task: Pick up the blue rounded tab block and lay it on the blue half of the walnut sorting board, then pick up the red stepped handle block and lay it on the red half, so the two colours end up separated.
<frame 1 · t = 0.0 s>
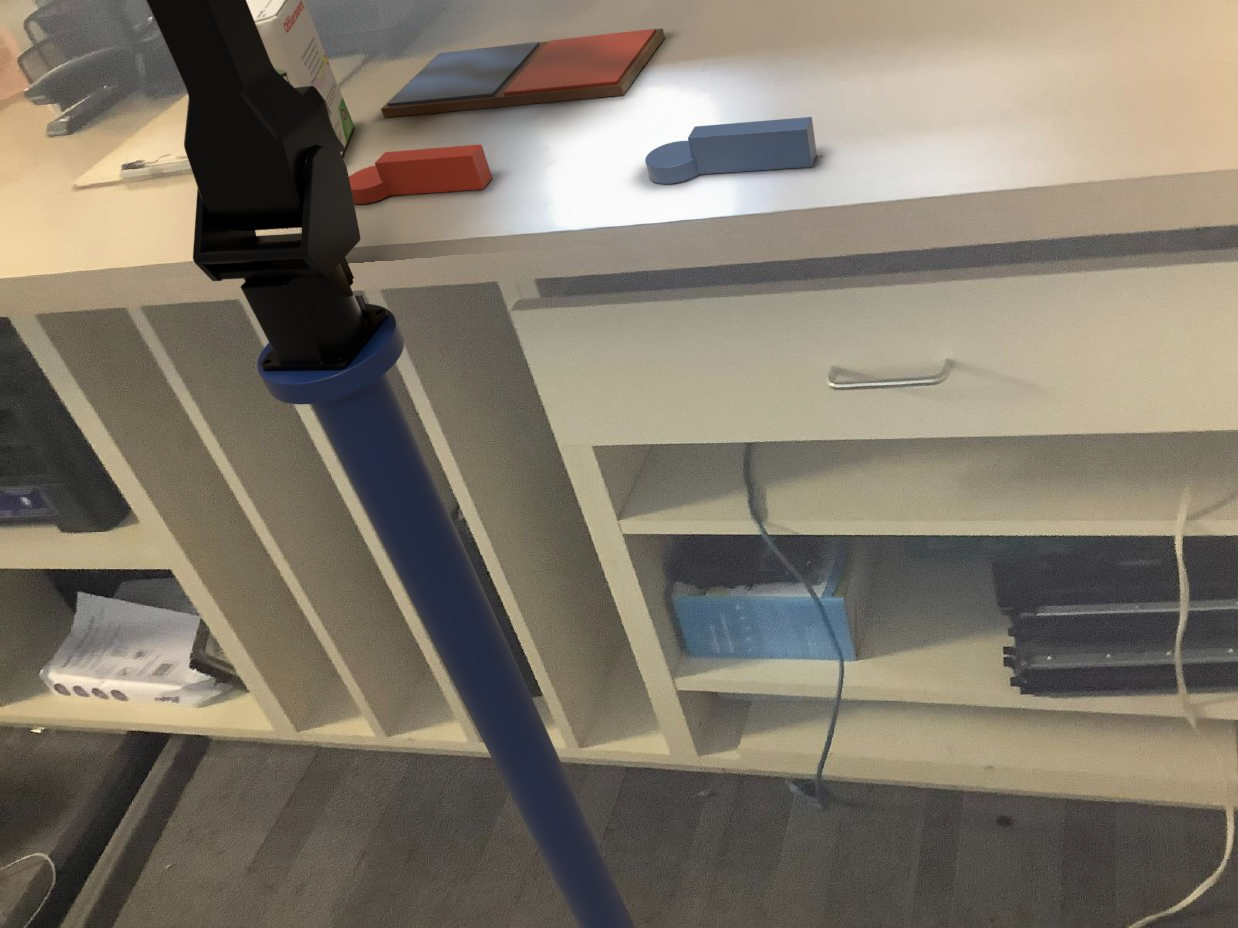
ink box: (321, 154, 94), on the countertop
sorting board: (525, 77, 98), on the countertop
blue rounded tab block: (755, 164, 76), on the countertop
red stepped handle block: (439, 186, 84), on the countertop
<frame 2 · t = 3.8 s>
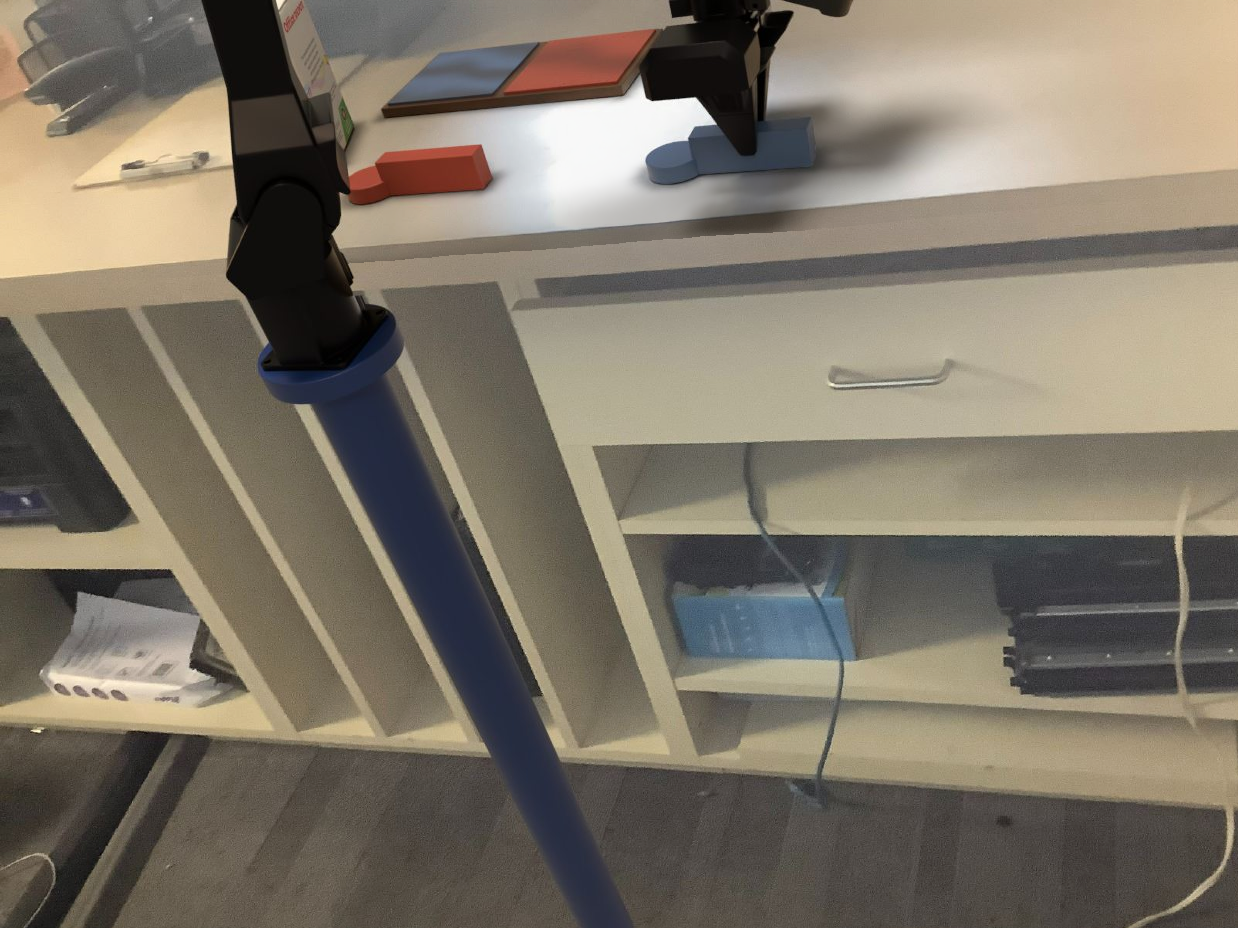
hand: (752, 147, 75), 1 cm above the countertop, tool pointing down, fingers closed on blue rounded tab block, 2 cm apart
blue rounded tab block: (755, 164, 76), on the countertop, touching gripper
everything else where it was.
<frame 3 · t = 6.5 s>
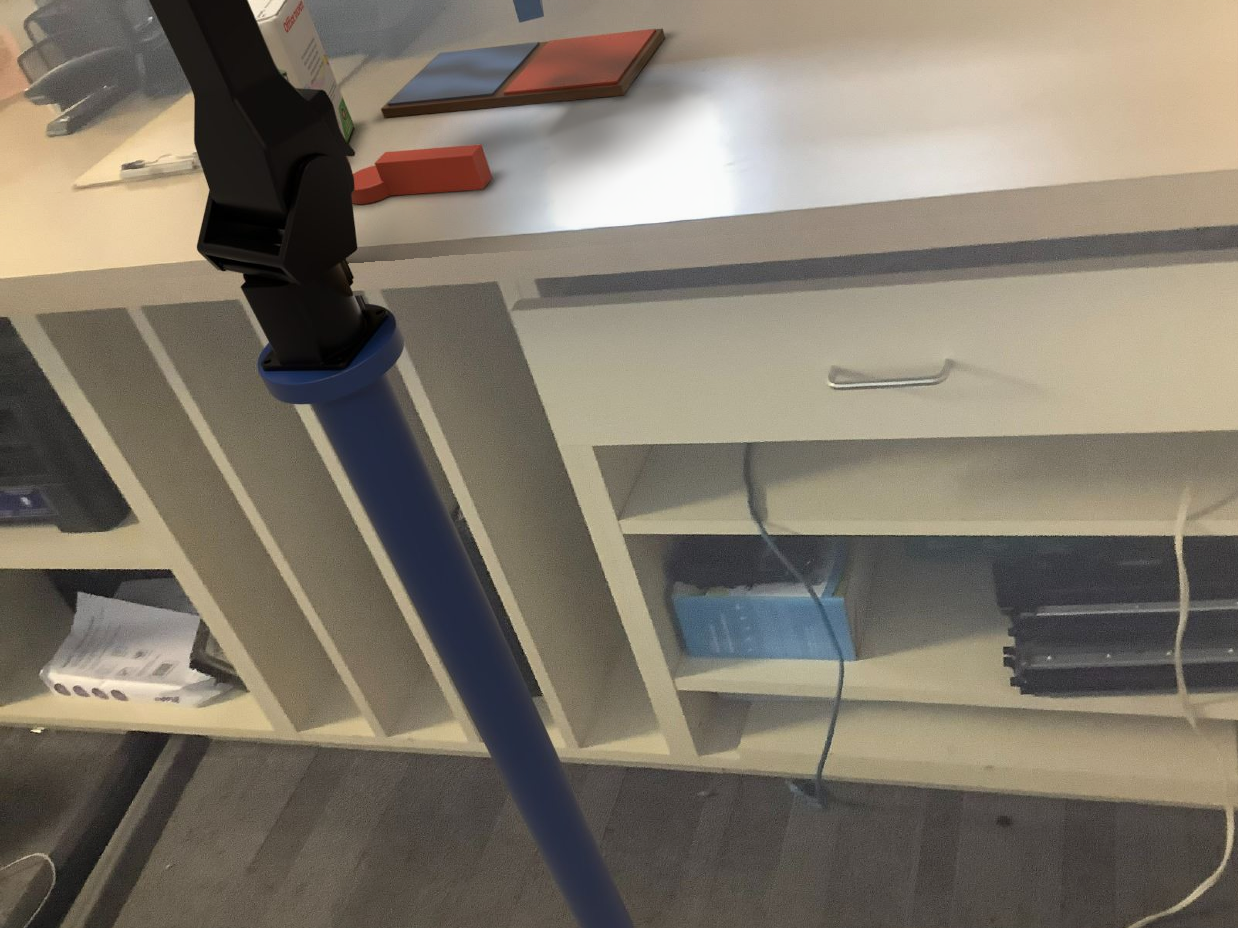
blue rounded tab block: (530, 3, 83), point 9 cm above the countertop, touching gripper
everything else where it was.
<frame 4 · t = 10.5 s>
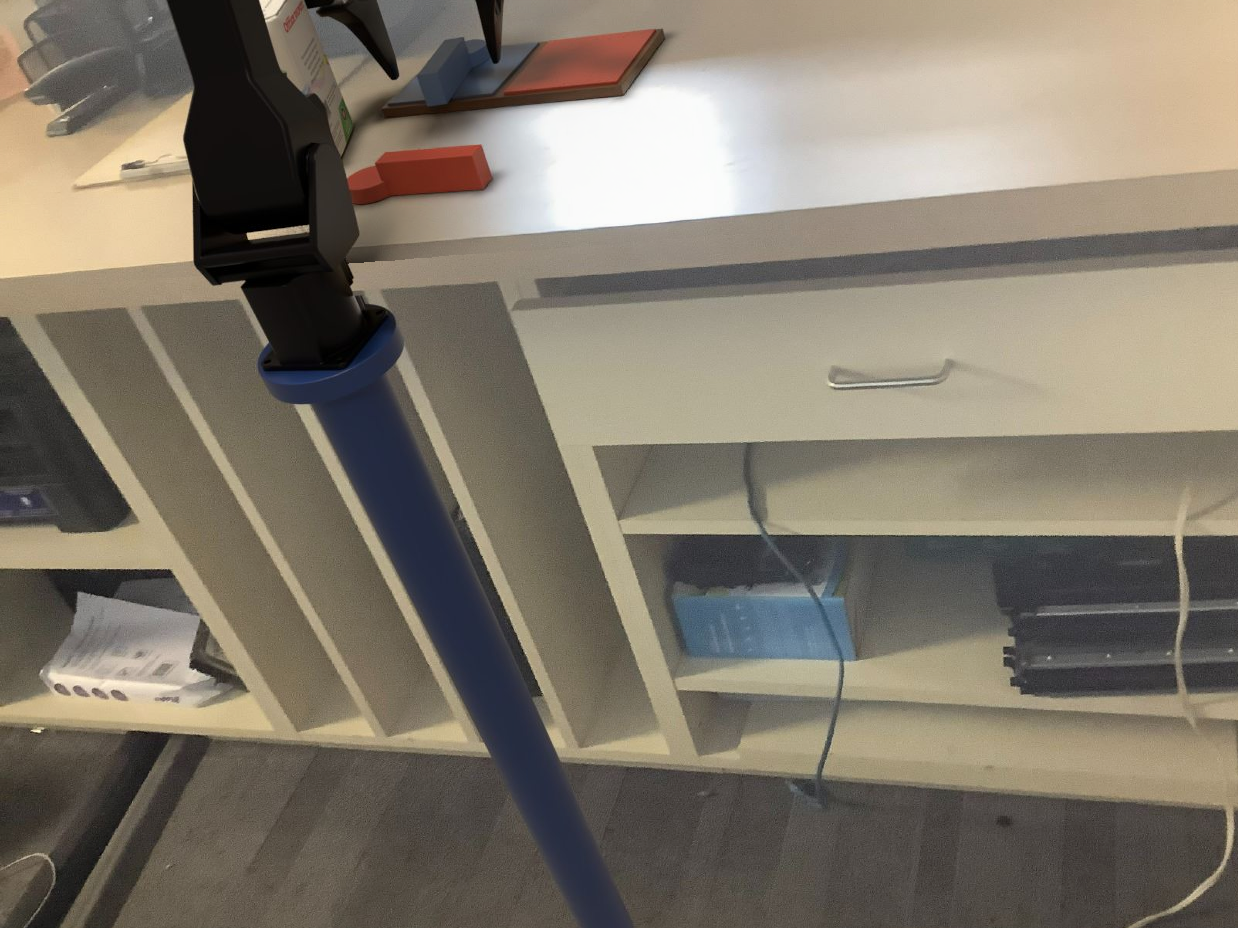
hand: (445, 70, 96), 2 cm above the countertop, tool pointing down, fingers open, 9 cm apart
blue rounded tab block: (451, 86, 97), point 1 cm above the countertop, touching sorting board
everything else where it was.
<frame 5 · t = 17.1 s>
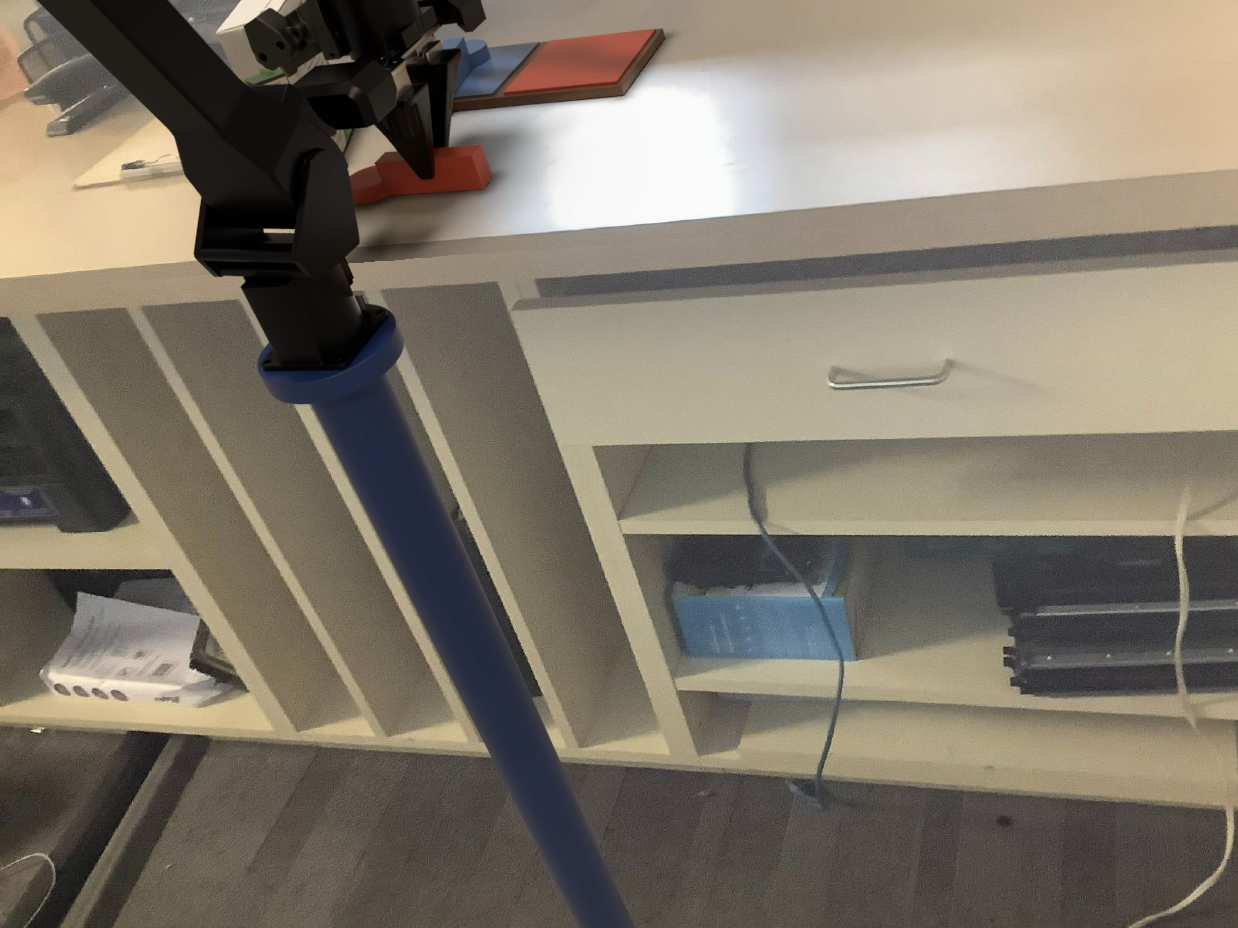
hand: (433, 171, 83), 1 cm above the countertop, tool pointing down, fingers closed on red stepped handle block, 2 cm apart
red stepped handle block: (439, 186, 84), on the countertop, touching gripper
everything else where it was.
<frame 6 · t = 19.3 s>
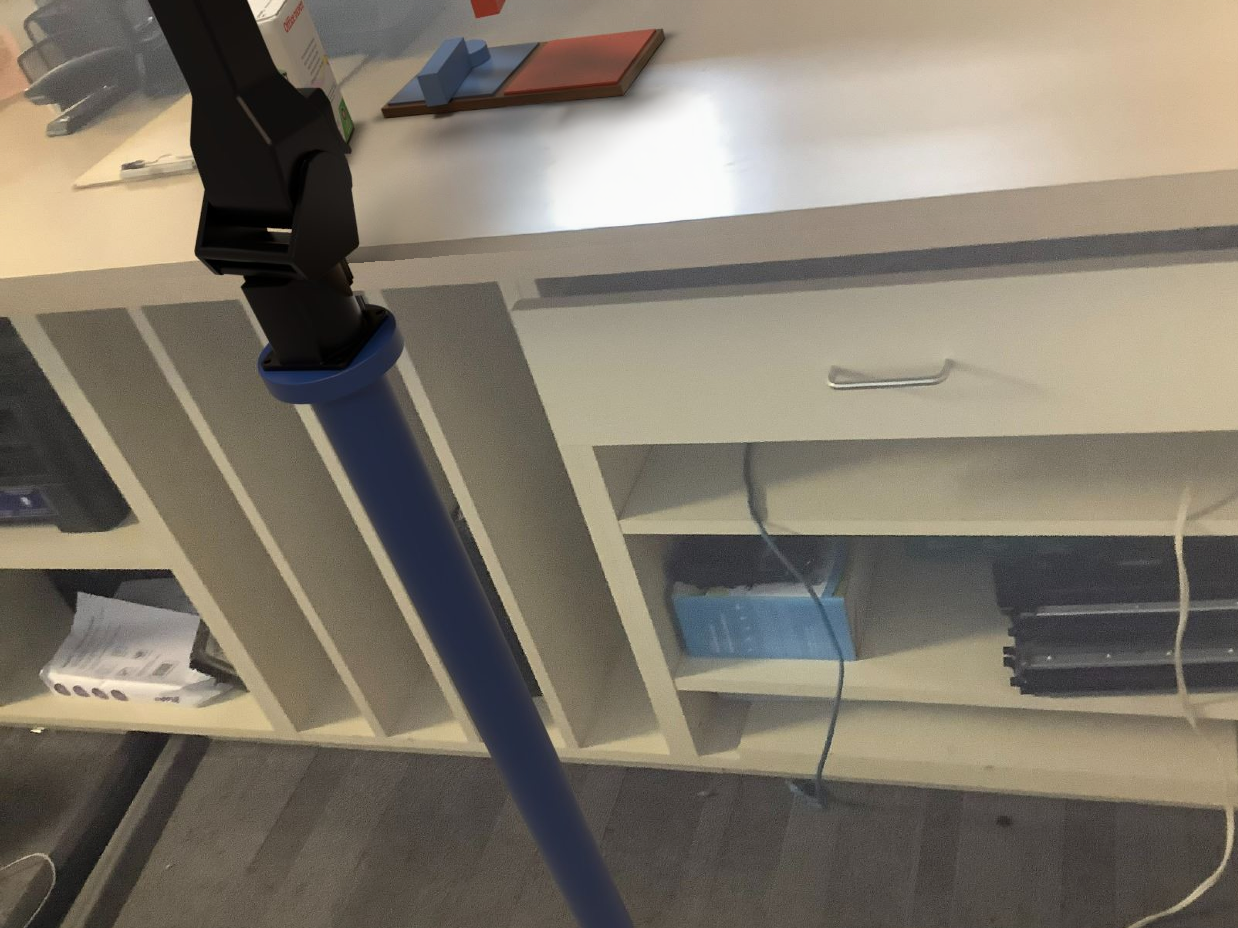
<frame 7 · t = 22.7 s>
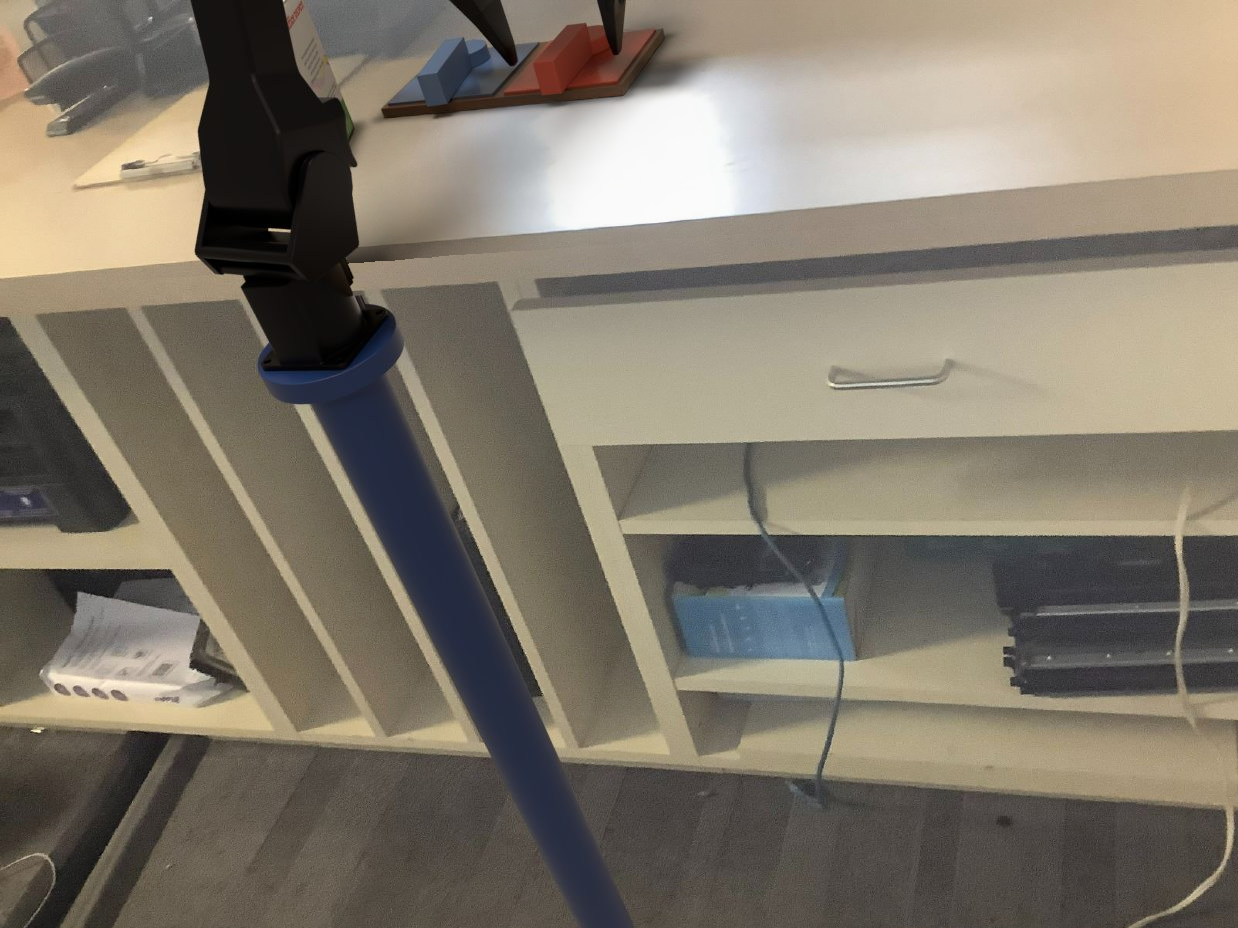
hand: (565, 58, 92), 2 cm above the countertop, tool pointing down, fingers open, 9 cm apart
red stepped handle block: (568, 74, 93), point 1 cm above the countertop, touching sorting board
everything else where it was.
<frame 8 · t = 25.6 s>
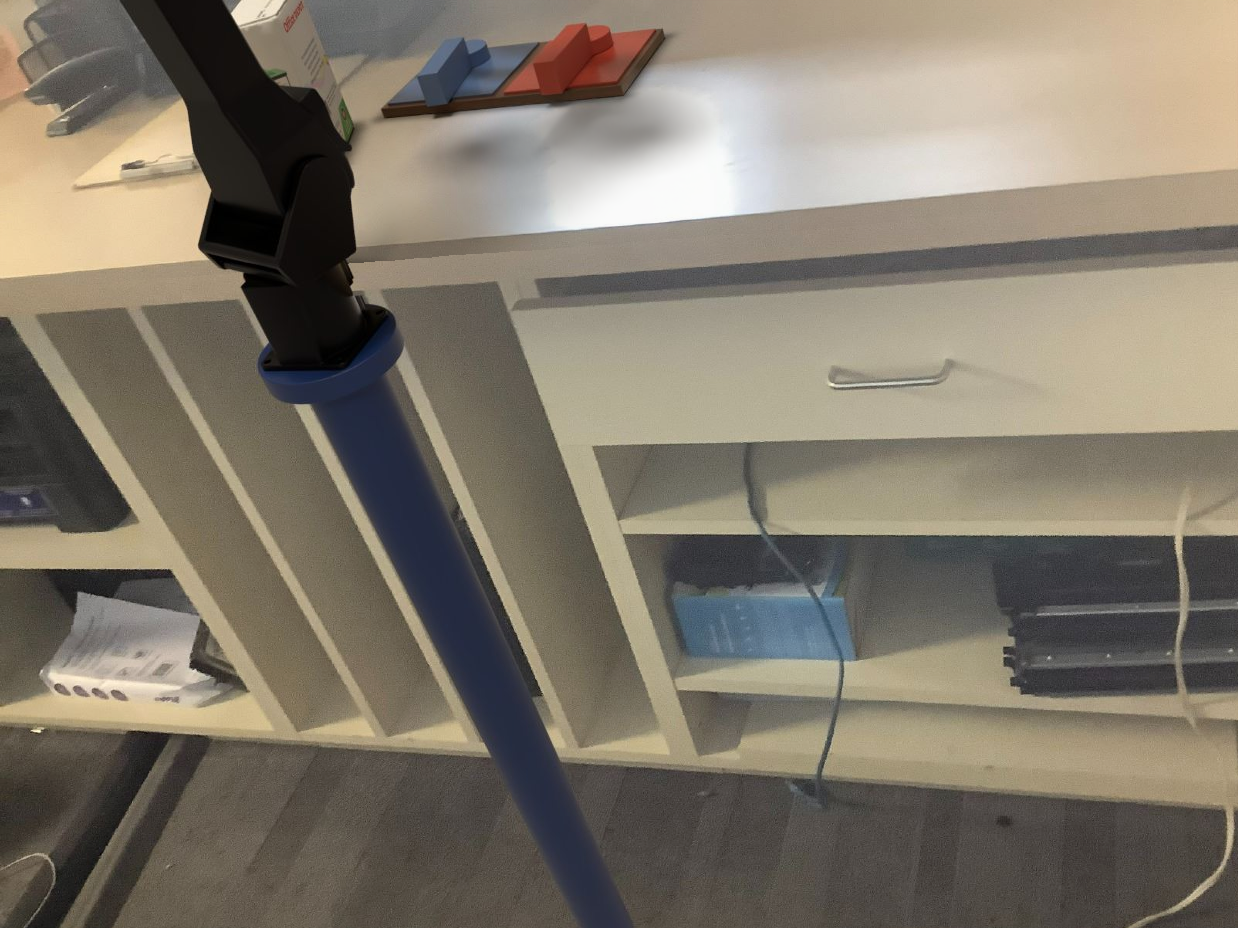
nothing on the countertop moved.
at the end: blue rounded tab block inside the target area on the sorting board (1.9 cm from its centre), point 1.0 cm above the sorting board's base; red stepped handle block inside the target area on the sorting board (1.8 cm from its centre), point 1.0 cm above the sorting board's base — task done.
